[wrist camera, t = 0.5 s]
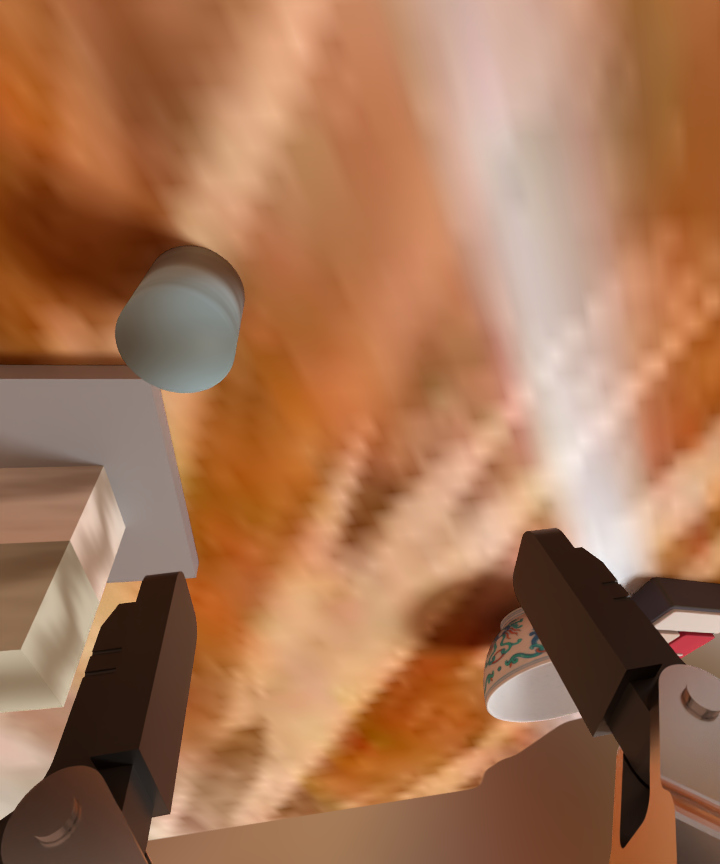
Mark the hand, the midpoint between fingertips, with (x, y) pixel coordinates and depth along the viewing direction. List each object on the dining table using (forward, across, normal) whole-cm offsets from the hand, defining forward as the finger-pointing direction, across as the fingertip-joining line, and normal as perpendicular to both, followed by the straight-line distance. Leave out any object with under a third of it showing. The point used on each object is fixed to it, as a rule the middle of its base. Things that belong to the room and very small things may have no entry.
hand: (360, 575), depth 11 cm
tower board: (+21, +17, +11) cm, 29 cm away
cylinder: (+19, +6, -2) cm, 20 cm away
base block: (+20, +17, +12) cm, 28 cm away
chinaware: (+23, -23, +36) cm, 49 cm away
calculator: (+23, -39, +39) cm, 60 cm away
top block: (+14, +17, +12) cm, 25 cm away
